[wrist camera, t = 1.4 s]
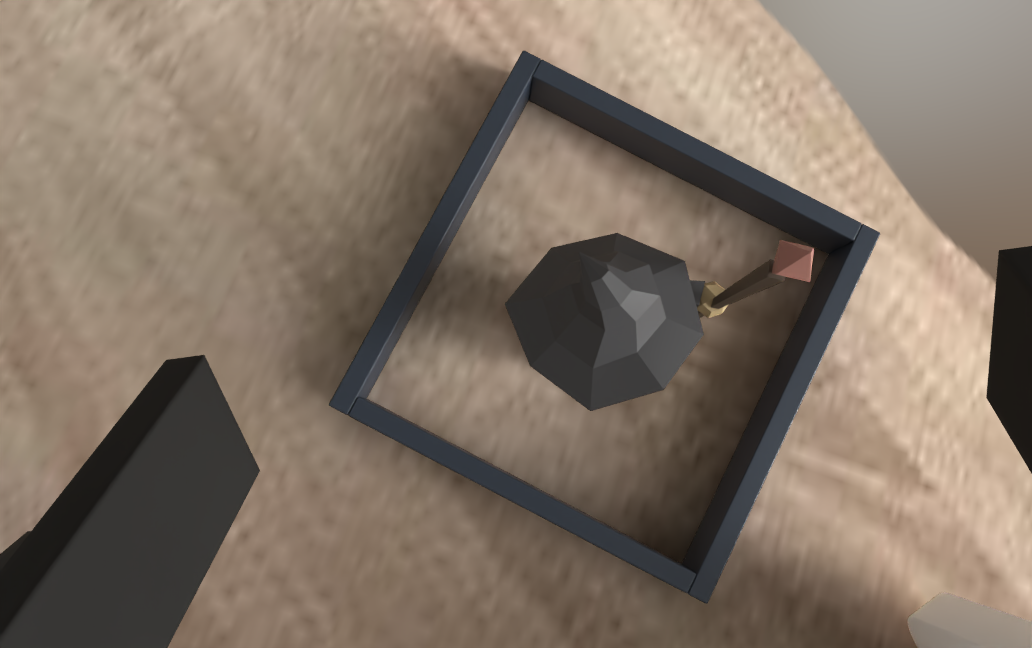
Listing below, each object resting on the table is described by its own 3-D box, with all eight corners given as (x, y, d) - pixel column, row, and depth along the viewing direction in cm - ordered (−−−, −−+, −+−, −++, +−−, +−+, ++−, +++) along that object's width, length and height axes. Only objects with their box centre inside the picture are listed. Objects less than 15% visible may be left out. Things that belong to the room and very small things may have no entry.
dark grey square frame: (339, 407, 34) (327, 405, 31) (520, 75, 36) (523, 49, 33) (690, 591, 33) (707, 604, 31) (853, 246, 36) (881, 232, 33)
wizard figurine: (557, 440, 34) (598, 445, 22) (479, 324, 34) (479, 267, 23) (724, 325, 35) (850, 271, 23) (646, 213, 35) (730, 103, 23)
